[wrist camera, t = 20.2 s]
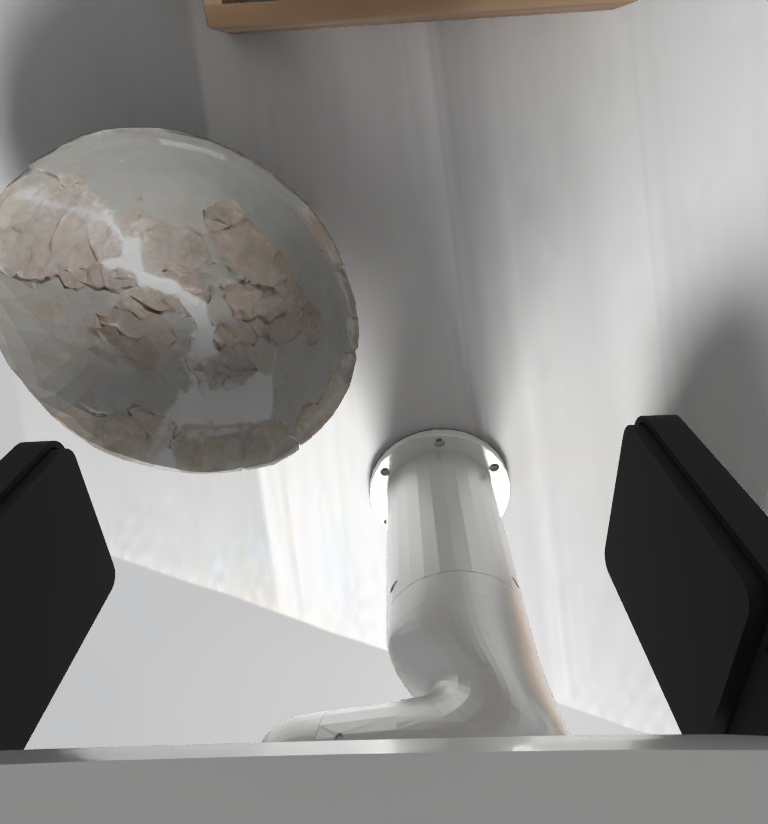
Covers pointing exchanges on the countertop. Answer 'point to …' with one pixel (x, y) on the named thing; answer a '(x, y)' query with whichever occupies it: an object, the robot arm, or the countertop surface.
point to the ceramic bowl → (173, 301)
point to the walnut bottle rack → (376, 12)
